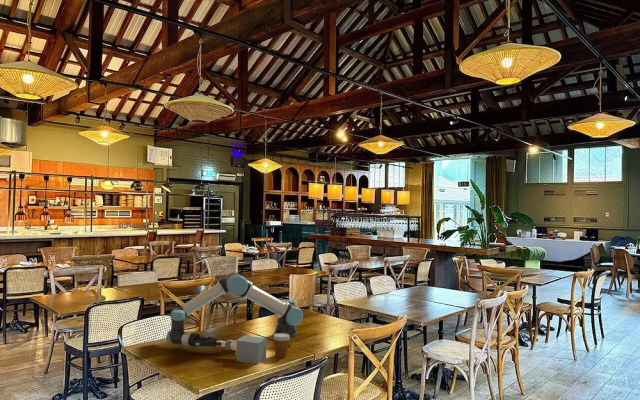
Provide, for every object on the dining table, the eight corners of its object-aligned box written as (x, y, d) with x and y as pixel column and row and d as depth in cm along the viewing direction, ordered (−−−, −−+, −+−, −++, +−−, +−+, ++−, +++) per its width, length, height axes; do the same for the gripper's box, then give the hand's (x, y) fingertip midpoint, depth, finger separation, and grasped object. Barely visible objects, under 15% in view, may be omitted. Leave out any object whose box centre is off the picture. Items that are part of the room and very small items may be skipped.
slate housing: (235, 360, 243) (236, 340, 243) (244, 355, 252) (245, 335, 253) (257, 364, 238) (258, 343, 239) (266, 358, 248) (266, 338, 249)
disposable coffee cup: (282, 360, 247) (283, 338, 247) (269, 356, 252) (269, 335, 252) (292, 355, 255) (293, 334, 255) (279, 352, 260) (279, 331, 260)
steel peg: (224, 350, 247) (225, 340, 247) (229, 347, 252) (229, 338, 252) (244, 352, 243) (244, 343, 243) (248, 350, 248) (248, 341, 248)
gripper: (197, 343, 263) (232, 348, 256) (184, 349, 251) (220, 354, 243) (198, 330, 264) (233, 334, 256) (184, 335, 251) (221, 340, 244)
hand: (227, 344), depth 250 cm, fingers closed
